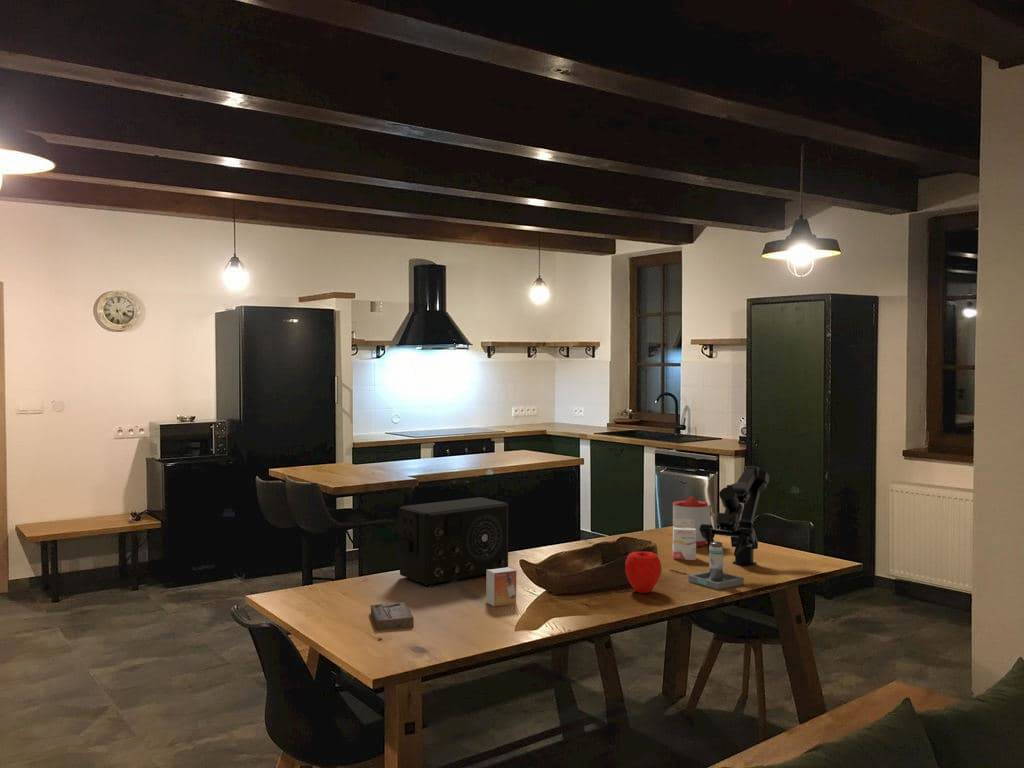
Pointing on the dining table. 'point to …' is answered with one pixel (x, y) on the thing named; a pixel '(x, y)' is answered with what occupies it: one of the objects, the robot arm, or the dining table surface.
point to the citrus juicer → (693, 515)
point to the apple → (643, 570)
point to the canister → (716, 562)
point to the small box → (501, 586)
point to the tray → (727, 582)
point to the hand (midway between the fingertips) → (721, 554)
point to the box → (392, 616)
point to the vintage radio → (452, 539)
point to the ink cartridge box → (684, 540)
